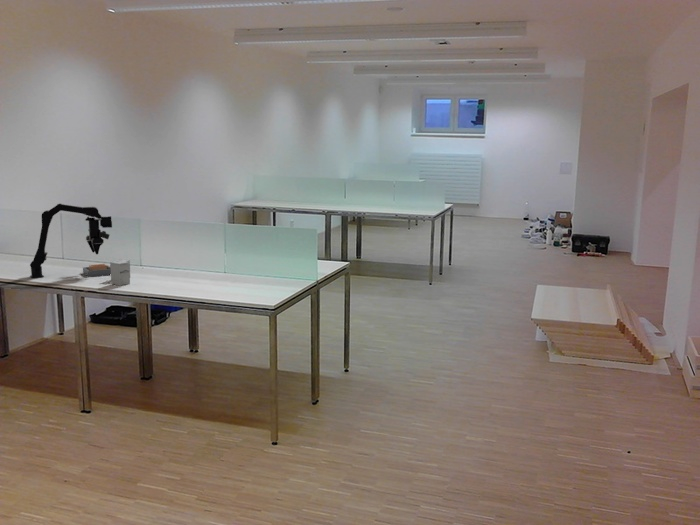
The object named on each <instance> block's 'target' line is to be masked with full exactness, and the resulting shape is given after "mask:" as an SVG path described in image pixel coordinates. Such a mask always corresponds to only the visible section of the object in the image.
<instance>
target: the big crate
mask: <svg viewBox="0 0 700 525" xmlns="http://www.w3.org/2000/svg"><path fill="white" fill-rule="evenodd" d="M106 265H107V264H106ZM82 273H83V274H84V275H85V276H87V277H90V278H91V277H100V276H101V277H103V276H110V275H109V274H111V268H110V266H109V265H107V269H104V270H93V271H89V266H86V267H85V266H84V267H82ZM102 275H103V276H102Z"/></svg>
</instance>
